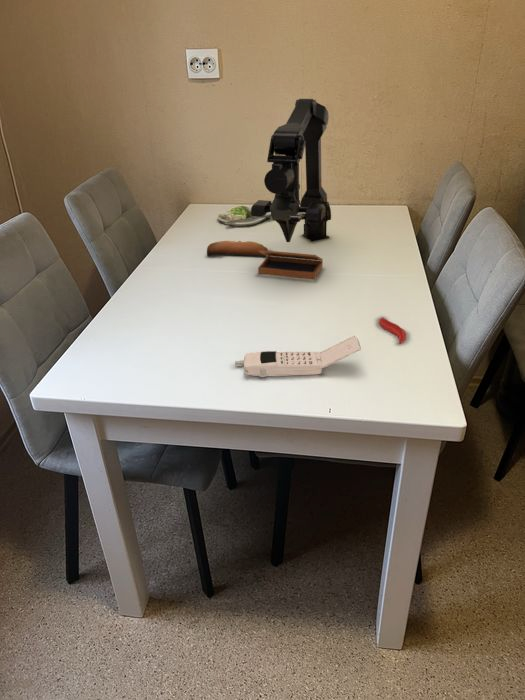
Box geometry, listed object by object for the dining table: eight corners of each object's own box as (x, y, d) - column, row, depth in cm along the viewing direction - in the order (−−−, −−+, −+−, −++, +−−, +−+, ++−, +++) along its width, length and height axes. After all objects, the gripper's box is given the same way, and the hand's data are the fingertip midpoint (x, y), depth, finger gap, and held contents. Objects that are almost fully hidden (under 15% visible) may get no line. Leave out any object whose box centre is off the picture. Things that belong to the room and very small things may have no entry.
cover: (315, 256, 147) (315, 254, 147) (257, 251, 152) (258, 249, 152) (322, 260, 156) (322, 259, 156) (267, 255, 161) (268, 254, 161)
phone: (312, 277, 151) (312, 274, 151) (262, 272, 155) (262, 269, 155) (318, 267, 157) (318, 264, 156) (270, 263, 161) (270, 260, 160)
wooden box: (314, 281, 150) (315, 273, 149) (258, 276, 155) (258, 267, 154) (322, 269, 158) (322, 260, 156) (268, 264, 162) (267, 255, 161)
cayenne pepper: (409, 343, 121) (410, 335, 120) (388, 344, 121) (389, 336, 120) (396, 317, 132) (397, 310, 131) (376, 318, 132) (377, 311, 131)
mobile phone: (362, 349, 108) (232, 353, 109) (360, 375, 111) (234, 379, 112) (357, 334, 114) (233, 338, 114) (355, 359, 117) (235, 363, 117)
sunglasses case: (270, 247, 172) (268, 233, 166) (267, 266, 168) (265, 252, 163) (213, 246, 175) (209, 231, 169) (209, 264, 171) (205, 250, 166)
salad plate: (244, 233, 185) (243, 219, 183) (205, 223, 195) (204, 210, 193) (279, 217, 198) (279, 204, 196) (241, 209, 208) (240, 196, 205)
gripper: (242, 189, 138) (245, 249, 146) (316, 193, 132) (315, 255, 141) (256, 177, 147) (259, 235, 155) (326, 181, 141) (325, 240, 150)
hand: (288, 241), depth 150 cm, fingers closed
